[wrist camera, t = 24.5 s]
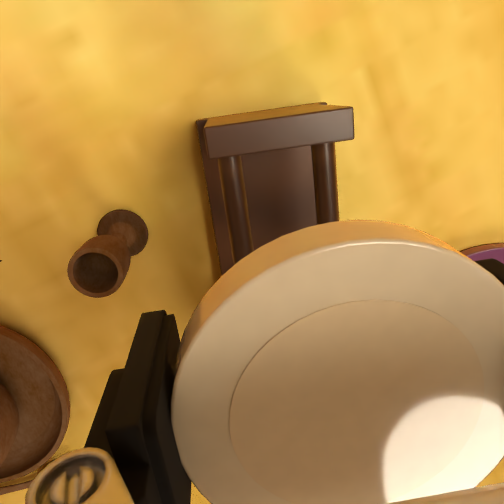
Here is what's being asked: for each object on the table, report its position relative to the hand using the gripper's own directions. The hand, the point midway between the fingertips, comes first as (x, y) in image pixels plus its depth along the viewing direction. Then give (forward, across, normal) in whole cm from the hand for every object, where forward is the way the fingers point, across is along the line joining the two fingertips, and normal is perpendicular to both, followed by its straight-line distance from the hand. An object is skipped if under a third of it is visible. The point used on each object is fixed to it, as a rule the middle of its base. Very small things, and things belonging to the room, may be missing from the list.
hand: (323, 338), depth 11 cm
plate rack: (+14, -1, +5) cm, 15 cm away
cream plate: (-2, 0, 0) cm, 2 cm away
